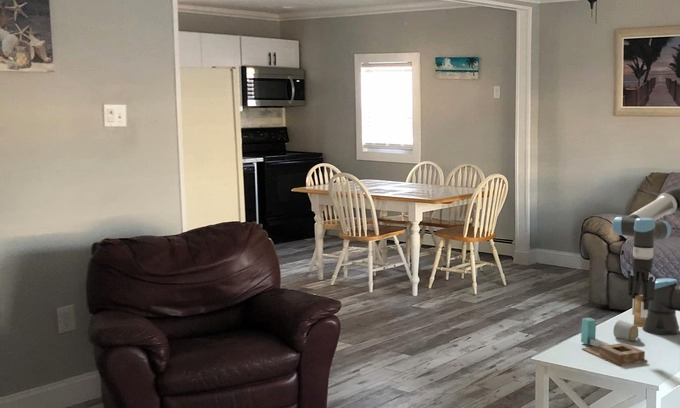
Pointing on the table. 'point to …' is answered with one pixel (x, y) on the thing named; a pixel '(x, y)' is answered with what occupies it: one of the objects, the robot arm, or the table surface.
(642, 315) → the robot arm
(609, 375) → the table surface
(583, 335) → the teal l-shaped block
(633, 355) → the dock
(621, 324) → the grey cylinder
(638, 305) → the dowel
